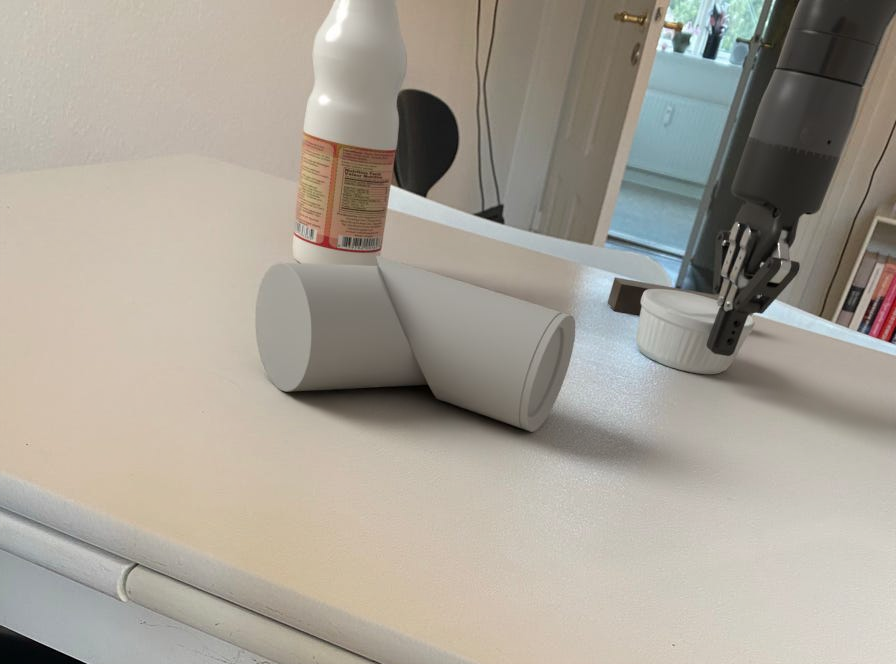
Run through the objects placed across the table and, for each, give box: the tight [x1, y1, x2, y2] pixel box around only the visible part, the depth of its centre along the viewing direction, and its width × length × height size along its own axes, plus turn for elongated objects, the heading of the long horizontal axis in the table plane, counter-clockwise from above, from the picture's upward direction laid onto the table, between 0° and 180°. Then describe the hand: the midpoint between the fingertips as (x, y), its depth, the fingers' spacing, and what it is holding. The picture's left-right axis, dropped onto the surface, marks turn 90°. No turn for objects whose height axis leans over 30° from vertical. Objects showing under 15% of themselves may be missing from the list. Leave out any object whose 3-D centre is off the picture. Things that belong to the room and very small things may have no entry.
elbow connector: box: [254, 255, 576, 433], centre depth 65 cm, size 18×10×20 cm
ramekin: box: [635, 289, 756, 375], centre depth 90 cm, size 11×11×5 cm
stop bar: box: [606, 277, 719, 316], centre depth 105 cm, size 16×3×3 cm, turn 94°
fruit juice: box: [292, 0, 408, 266], centre depth 90 cm, size 9×9×28 cm
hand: (718, 352), depth 83 cm, fingers closed
